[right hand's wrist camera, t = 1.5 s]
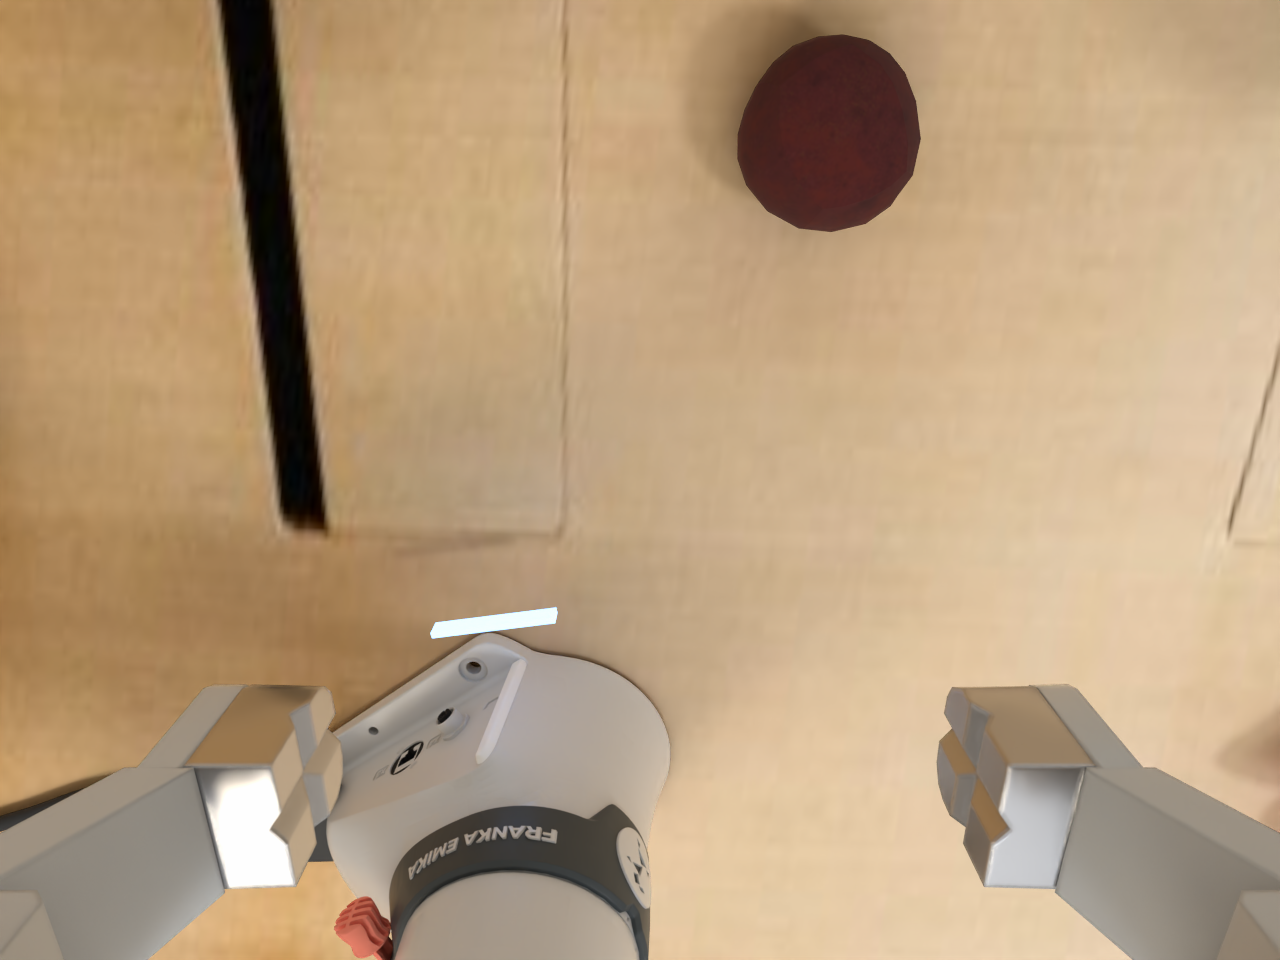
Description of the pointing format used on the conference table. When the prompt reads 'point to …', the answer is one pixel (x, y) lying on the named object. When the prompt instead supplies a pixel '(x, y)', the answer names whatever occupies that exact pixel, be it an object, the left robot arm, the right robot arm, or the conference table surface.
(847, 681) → the conference table surface
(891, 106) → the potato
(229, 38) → the conference table surface
